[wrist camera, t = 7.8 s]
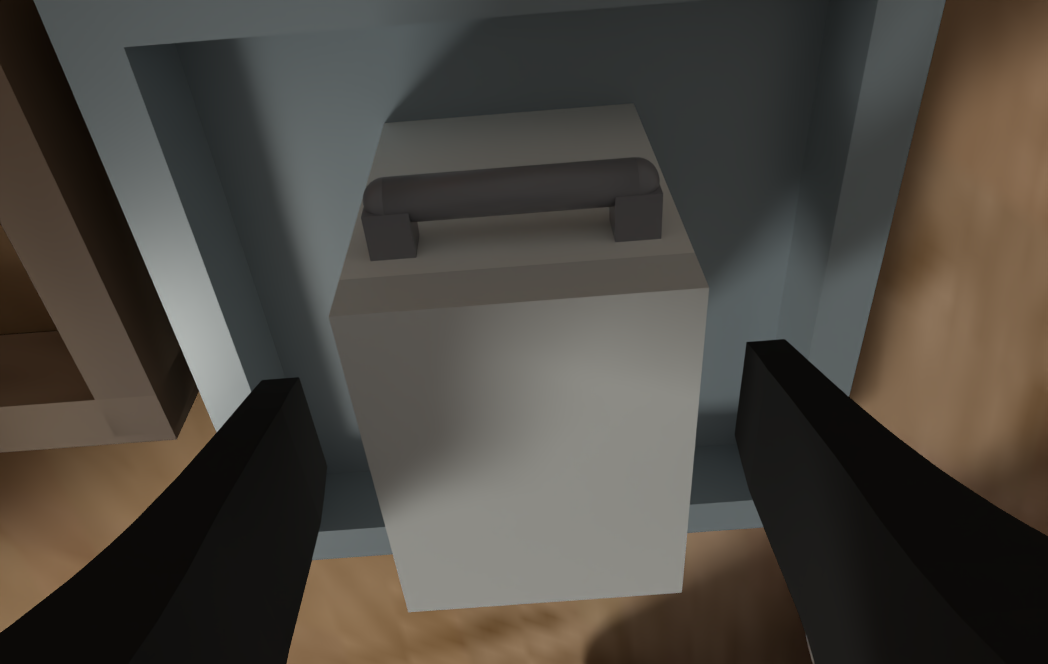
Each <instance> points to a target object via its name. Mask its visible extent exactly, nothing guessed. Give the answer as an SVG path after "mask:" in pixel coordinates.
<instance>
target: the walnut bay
mask: <svg viewBox="0 0 1048 664" xmlns="http://www.w3.org/2000/svg"><path fill="white" fill-rule="evenodd" d="M0 223H1V225H2V227H3V229H4V231H5V233H6V234H7V236H8V238H9V240H10V242H11V244H12V246H13V247H14V249H15V251H16V253H17V255H18V257H19V259H20V261H21V262H22V264H23V266H24V268H25V270H26V272H27V274H28V275H29V277H30V279H31V281H32V283H33V285H34V287H35V289H36V290H37V292H38V294H39V296H40V298H41V300H42V302H43V304H44V305H45V307H46V309H47V311H48V313H49V315H50V317H51V318H52V320H53V322H54V324H55V326H56V328H57V330H58V331H50V332H37V333H24V334H11V335H0V453H1V452H14V451H28V450H41V449H55V448H68V447H81V446H95V445H108V444H122V443H135V442H148V441H162V440H175V439H177V438H178V435H179V433H180V431H181V429H182V427H183V425H184V422H185V420H186V418H187V416H188V414H189V411H190V409H191V407H192V405H193V403H194V400H195V398H196V396H197V394H198V392H199V390H198V387H197V385H196V383H195V380H194V378H193V375H192V373H191V371H190V368H189V366H188V364H187V361H186V359H185V357H184V354H183V352H182V349H181V347H180V345H179V342H178V340H177V338H176V335H175V333H174V331H173V328H172V326H171V324H170V321H169V319H168V316H167V314H166V312H165V309H164V307H163V305H162V302H161V300H160V298H159V295H158V293H157V291H156V288H155V286H154V283H153V281H152V279H151V276H150V274H149V272H148V269H147V267H146V265H145V262H144V260H143V257H142V255H141V253H140V250H139V248H138V246H137V243H136V241H135V239H134V236H133V234H132V232H131V229H130V227H129V224H128V222H127V220H126V217H125V215H124V213H123V210H122V208H121V206H120V203H119V201H118V198H117V196H116V194H115V191H114V189H113V187H112V184H111V182H110V180H109V177H108V175H107V173H106V170H105V168H104V165H103V163H102V161H101V158H100V156H99V154H98V151H97V149H96V147H95V144H94V142H93V140H92V137H91V135H90V132H89V130H88V128H87V125H86V123H85V121H84V118H83V116H82V114H81V111H80V109H79V106H78V104H77V102H76V99H75V97H74V95H73V92H72V90H71V88H70V85H69V83H68V81H67V78H66V76H65V73H64V71H63V69H62V66H61V64H60V62H59V59H58V57H57V55H56V52H55V50H54V47H53V45H52V43H51V40H50V38H49V36H48V33H47V31H46V29H45V26H44V24H43V22H42V19H41V17H40V14H39V12H38V10H37V7H36V5H35V3H34V0H0Z"/></svg>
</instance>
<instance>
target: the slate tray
mask: <svg viewBox="0 0 1048 664" xmlns="http://www.w3.org/2000/svg"><path fill="white" fill-rule="evenodd" d="M945 1H946V0H34V3H35V5H36V7H37V10H38V12H39V14H40V17H41V19H42V22H43V24H44V26H45V29H46V31H47V33H48V36H49V38H50V40H51V43H52V45H53V47H54V50H55V52H56V55H57V57H58V59H59V62H60V64H61V66H62V69H63V71H64V73H65V76H66V78H67V81H68V83H69V85H70V88H71V90H72V92H73V95H74V97H75V99H76V102H77V104H78V106H79V109H80V111H81V114H82V116H83V118H84V121H85V123H86V125H87V128H88V130H89V132H90V135H91V137H92V140H93V142H94V144H95V147H96V149H97V151H98V154H99V156H100V158H101V161H102V163H103V165H104V168H105V170H106V173H107V175H108V177H109V180H110V182H111V184H112V187H113V189H114V191H115V194H116V196H117V198H118V201H119V203H120V206H121V208H122V210H123V213H124V215H125V217H126V220H127V222H128V224H129V227H130V229H131V232H132V234H133V236H134V239H135V241H136V243H137V246H138V248H139V250H140V253H141V255H142V257H143V260H144V262H145V265H146V267H147V269H148V272H149V274H150V276H151V279H152V281H153V283H154V286H155V288H156V291H157V293H158V295H159V298H160V300H161V302H162V305H163V307H164V309H165V312H166V314H167V316H168V319H169V321H170V324H171V326H172V328H173V331H174V333H175V335H176V338H177V340H178V342H179V345H180V347H181V349H182V352H183V354H184V357H185V359H186V361H187V364H188V366H189V368H190V371H191V373H192V375H193V378H194V380H195V383H196V385H197V387H198V390H199V392H200V394H201V397H202V399H203V401H204V404H205V406H206V408H207V411H208V413H209V416H210V418H211V420H212V423H213V425H214V427H215V430H216V432H218V430H219V429H220V428H221V427H222V426H223V425H224V423H225V422H226V421H227V420H228V419H229V417H230V416H231V415H232V414H233V413H234V412H235V410H236V409H237V408H238V407H239V406H240V404H241V403H242V402H243V401H244V400H245V399H246V397H247V396H248V395H249V394H250V393H251V392H252V391H253V389H254V388H255V387H256V386H257V385H258V384H259V383H260V381H261V380H268V379H281V378H294V377H299V378H300V381H301V384H302V388H303V391H304V394H305V397H306V400H307V403H308V407H309V410H310V413H311V416H312V419H313V422H314V426H315V429H316V432H317V435H318V438H319V441H320V445H321V448H322V451H323V454H324V457H325V460H326V464H327V474H326V484H325V494H324V502H323V510H322V518H321V524H320V529H319V533H318V537H317V541H316V545H315V549H314V553H313V558H312V560H319V559H333V558H347V557H361V556H375V555H389V554H393V553H392V550H391V546H390V542H389V538H388V535H387V531H386V527H385V524H384V520H383V516H382V513H381V509H380V505H379V501H378V498H377V494H376V490H375V487H374V483H373V479H372V476H371V472H370V468H369V464H368V461H367V457H366V453H365V450H364V446H363V442H362V439H361V435H360V431H359V428H358V424H357V420H356V416H355V413H354V409H353V405H352V402H351V398H350V394H349V391H348V387H347V383H346V379H345V376H344V372H343V368H342V365H341V361H340V357H339V354H338V350H337V346H336V342H335V339H334V335H333V331H332V328H331V324H330V320H329V313H330V310H331V306H332V303H333V299H334V296H335V292H336V289H337V285H338V282H339V279H340V275H341V272H342V268H343V265H344V261H345V258H346V254H347V251H348V247H349V244H350V240H351V237H352V233H353V230H354V226H355V223H356V219H357V216H358V212H359V209H360V205H361V202H362V198H363V194H364V191H365V188H366V184H367V181H368V177H369V174H370V170H371V167H372V163H373V160H374V156H375V153H376V150H377V146H378V143H379V139H380V136H381V132H382V129H383V125H384V123H392V122H404V121H417V120H429V119H442V118H454V117H467V116H480V115H492V114H505V113H517V112H530V111H542V110H555V109H568V108H580V107H593V106H605V105H618V104H630V103H634V106H635V108H636V111H637V113H638V116H639V118H640V120H641V123H642V125H643V128H644V130H645V133H646V135H647V137H648V140H649V142H650V145H651V147H652V150H653V152H654V155H655V157H656V159H657V162H658V164H659V167H660V169H661V172H662V174H663V176H664V179H665V181H666V184H667V186H668V189H669V191H670V193H671V196H672V198H673V201H674V203H675V206H676V208H677V211H678V213H679V215H680V218H681V220H682V223H683V225H684V228H685V230H686V232H687V235H688V237H689V240H690V242H691V245H692V247H693V250H694V252H695V254H696V257H697V259H698V262H699V264H700V267H701V269H702V271H703V274H704V276H705V279H706V281H707V284H708V286H709V295H708V306H707V317H706V328H705V340H704V351H703V362H702V373H701V384H700V395H699V406H698V418H697V429H696V440H695V451H694V462H693V473H692V485H691V496H690V507H689V518H688V529H687V533H692V532H706V531H720V530H734V529H747V528H761V527H763V525H762V522H761V520H760V517H759V515H758V512H757V510H756V507H755V505H754V502H753V499H752V497H751V494H750V492H749V489H748V485H747V481H746V478H745V474H744V470H743V467H742V463H741V459H740V455H739V451H738V447H737V443H736V439H735V427H736V419H737V412H738V404H739V396H740V389H741V381H742V373H743V365H744V358H745V350H746V342H753V341H766V340H778V339H785V340H786V341H788V342H789V343H790V344H791V345H792V346H793V347H794V348H795V349H796V350H798V351H799V352H800V353H801V354H802V355H803V356H804V357H805V358H806V359H807V360H809V361H810V362H811V363H812V364H813V365H814V366H815V367H816V368H817V369H818V370H820V371H821V372H822V373H823V374H824V375H825V376H826V377H827V378H828V379H829V380H831V381H832V382H833V383H834V384H835V385H836V386H837V387H838V388H839V389H841V390H842V391H843V392H844V393H845V394H846V395H847V396H849V395H850V391H851V387H852V383H853V378H854V374H855V370H856V366H857V362H858V358H859V354H860V350H861V346H862V342H863V337H864V333H865V329H866V325H867V321H868V317H869V313H870V309H871V305H872V301H873V296H874V292H875V288H876V284H877V280H878V276H879V272H880V268H881V264H882V260H883V255H884V251H885V247H886V243H887V239H888V235H889V231H890V227H891V223H892V219H893V214H894V210H895V206H896V202H897V198H898V194H899V190H900V186H901V182H902V178H903V173H904V169H905V165H906V161H907V157H908V153H909V149H910V145H911V141H912V137H913V132H914V128H915V124H916V120H917V116H918V112H919V108H920V104H921V100H922V96H923V91H924V87H925V83H926V79H927V75H928V71H929V67H930V63H931V59H932V55H933V50H934V46H935V42H936V38H937V34H938V30H939V26H940V22H941V18H942V14H943V9H944V5H945Z"/></svg>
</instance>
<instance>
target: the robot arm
mask: <svg viewBox="0 0 1048 664" xmlns="http://www.w3.org/2000/svg"><path fill="white" fill-rule="evenodd" d="M735 439H736V443H737V447H738V451H739V455H740V459H741V463H742V467H743V470H744V474H745V478H746V481H747V485H748V489H749V492H750V494H751V497H752V499H753V502H754V505H755V507H756V510H757V512H758V515H759V517H760V520H761V522H762V525H763V527H764V530H765V532H766V535H767V537H768V539H769V542H770V544H771V547H772V549H773V552H774V554H775V557H776V559H777V562H778V564H779V566H780V569H781V571H782V574H783V576H784V579H785V581H786V584H787V586H788V589H789V591H790V593H791V596H792V598H793V601H794V603H795V606H796V608H797V611H798V613H799V616H800V619H801V622H802V625H803V627H804V630H805V633H806V636H807V639H808V642H809V646H810V649H811V652H812V656H813V659H814V663H815V664H1048V536H1046V535H1045V534H1043V533H1041V532H1039V531H1037V530H1036V529H1034V528H1032V527H1030V526H1029V525H1027V524H1025V523H1023V522H1021V521H1020V520H1018V519H1016V518H1015V517H1013V516H1011V515H1010V514H1008V513H1006V512H1005V511H1003V510H1001V509H1000V508H998V507H997V506H995V505H993V504H992V503H990V502H989V501H987V500H986V499H984V498H983V497H981V496H980V495H978V494H976V493H975V492H973V491H972V490H970V489H969V488H967V487H966V486H964V485H963V484H961V483H960V482H958V481H957V480H955V479H954V478H952V477H951V476H949V475H948V474H946V473H945V472H943V471H942V470H941V469H939V468H938V467H936V466H935V465H934V464H932V463H931V462H930V461H928V460H927V459H926V458H924V457H923V456H922V455H920V454H919V453H918V452H916V451H915V450H914V449H912V448H911V447H910V446H908V445H907V444H906V443H904V442H903V441H902V440H900V439H899V438H898V437H897V436H895V435H894V434H893V433H892V432H890V431H889V430H888V429H887V428H885V427H884V426H883V425H882V424H880V423H879V422H878V421H877V420H876V419H874V418H873V417H872V416H871V415H870V414H868V413H867V412H866V411H865V410H864V409H862V408H861V407H860V406H859V405H858V404H857V403H855V402H854V401H853V400H852V399H851V398H850V397H849V396H847V395H846V394H845V393H844V392H843V391H842V390H841V389H839V388H838V387H837V386H836V385H835V384H834V383H833V382H832V381H831V380H829V379H828V378H827V377H826V376H825V375H824V374H823V373H822V372H821V371H820V370H818V369H817V368H816V367H815V366H814V365H813V364H812V363H811V362H810V361H809V360H807V359H806V358H805V357H804V356H803V355H802V354H801V353H800V352H799V351H798V350H796V349H795V348H794V347H793V346H792V345H791V344H790V343H789V342H788V341H786V340H785V339H778V340H766V341H753V342H746V350H745V358H744V365H743V373H742V381H741V389H740V396H739V404H738V412H737V419H736V427H735ZM326 474H327V464H326V460H325V457H324V454H323V451H322V448H321V445H320V441H319V438H318V435H317V432H316V429H315V426H314V422H313V419H312V416H311V413H310V410H309V407H308V403H307V400H306V397H305V394H304V391H303V388H302V384H301V381H300V378H299V377H294V378H281V379H268V380H261V381H260V383H259V384H258V385H257V386H256V387H255V388H254V389H253V391H252V392H251V393H250V394H249V395H248V396H247V397H246V399H245V400H244V401H243V402H242V403H241V404H240V406H239V407H238V408H237V409H236V410H235V412H234V413H233V414H232V415H231V416H230V417H229V419H228V420H227V421H226V422H225V423H224V425H223V426H222V427H221V428H220V429H219V430H218V432H217V433H216V434H215V435H214V436H213V437H212V439H211V440H210V441H209V442H208V443H207V444H206V445H205V447H204V448H203V449H202V450H201V451H200V452H199V453H198V455H197V456H196V457H195V458H194V459H193V460H192V461H191V462H190V464H189V465H188V466H187V467H186V468H185V469H184V470H183V471H182V473H181V474H180V475H179V476H178V477H177V478H176V479H175V480H174V481H173V482H172V483H171V484H170V485H169V486H168V487H167V488H166V489H165V490H164V492H163V493H162V494H161V495H160V496H159V497H158V498H157V499H156V500H155V501H154V502H153V503H152V504H151V505H150V506H149V507H148V508H147V509H146V510H145V511H144V512H143V513H142V514H141V515H140V516H139V517H138V518H137V519H136V520H135V521H134V522H133V523H132V524H131V525H130V526H129V527H128V528H127V529H126V530H125V531H124V532H123V533H122V534H121V535H120V536H118V537H117V538H116V539H115V540H114V541H113V542H112V543H111V544H110V545H109V546H108V547H106V548H105V549H104V550H103V551H102V552H101V553H100V554H98V555H97V556H96V557H95V558H94V559H93V560H92V561H90V562H89V563H88V564H87V565H86V566H85V567H84V568H82V569H81V570H80V571H79V572H78V573H77V574H75V575H74V576H73V577H72V578H71V579H69V580H68V581H67V582H66V583H64V584H63V585H62V586H60V587H59V588H58V589H57V590H55V591H54V592H53V593H51V594H50V595H49V596H48V597H46V598H45V599H44V600H43V601H41V602H40V603H39V604H37V605H36V606H35V607H34V608H32V609H31V610H30V611H28V612H27V613H26V614H25V615H23V616H22V617H21V618H19V619H18V620H17V621H16V622H14V623H13V624H12V625H10V626H9V627H8V628H6V629H5V630H4V631H2V632H1V633H0V664H286V663H287V658H288V653H289V648H290V645H291V641H292V637H293V633H294V629H295V625H296V621H297V617H298V613H299V609H300V605H301V601H302V597H303V593H304V589H305V585H306V581H307V578H308V574H309V570H310V566H311V562H312V558H313V553H314V549H315V545H316V541H317V537H318V533H319V529H320V524H321V518H322V510H323V502H324V494H325V484H326Z"/></svg>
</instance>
